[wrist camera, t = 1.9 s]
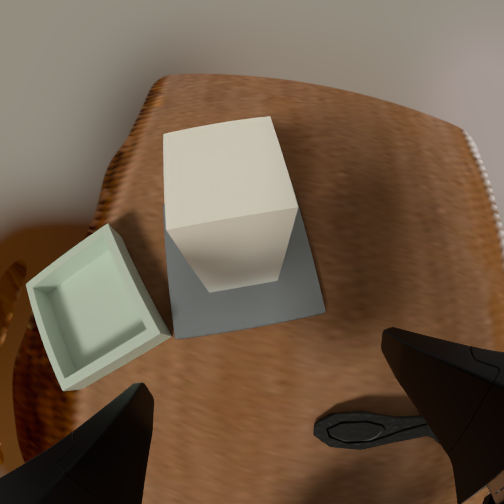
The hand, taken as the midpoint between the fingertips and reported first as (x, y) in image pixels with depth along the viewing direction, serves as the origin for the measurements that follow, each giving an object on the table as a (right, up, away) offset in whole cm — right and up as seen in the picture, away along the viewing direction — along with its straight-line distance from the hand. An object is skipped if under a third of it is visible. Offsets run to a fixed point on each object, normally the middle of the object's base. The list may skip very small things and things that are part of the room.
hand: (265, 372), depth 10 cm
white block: (-2, +4, +14) cm, 15 cm away
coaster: (-2, +4, +15) cm, 16 cm away
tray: (-14, -1, +14) cm, 20 cm away
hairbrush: (+17, -12, +10) cm, 23 cm away
